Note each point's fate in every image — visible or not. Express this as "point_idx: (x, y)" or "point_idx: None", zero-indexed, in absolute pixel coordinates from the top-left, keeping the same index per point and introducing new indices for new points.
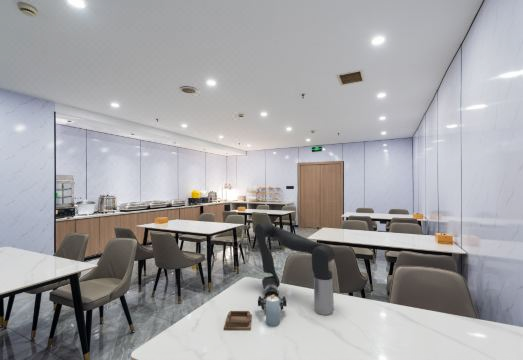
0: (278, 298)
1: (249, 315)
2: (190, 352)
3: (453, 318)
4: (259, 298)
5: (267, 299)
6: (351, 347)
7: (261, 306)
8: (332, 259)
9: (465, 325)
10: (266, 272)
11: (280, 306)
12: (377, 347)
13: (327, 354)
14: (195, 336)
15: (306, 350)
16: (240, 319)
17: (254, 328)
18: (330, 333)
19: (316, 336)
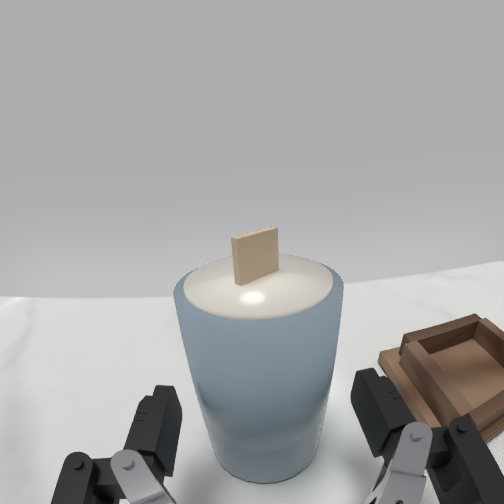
0: (185, 282)
1: (438, 383)
2: (453, 273)
3: None
4: (490, 480)
5: (315, 264)
6: (40, 311)
7: (387, 384)
8: None
9: None
10: None
11: (171, 427)
12: (4, 308)
13: (107, 300)
14: (498, 299)
15: (151, 307)
16: (470, 386)
17: None
18: (31, 352)
19: (80, 347)
